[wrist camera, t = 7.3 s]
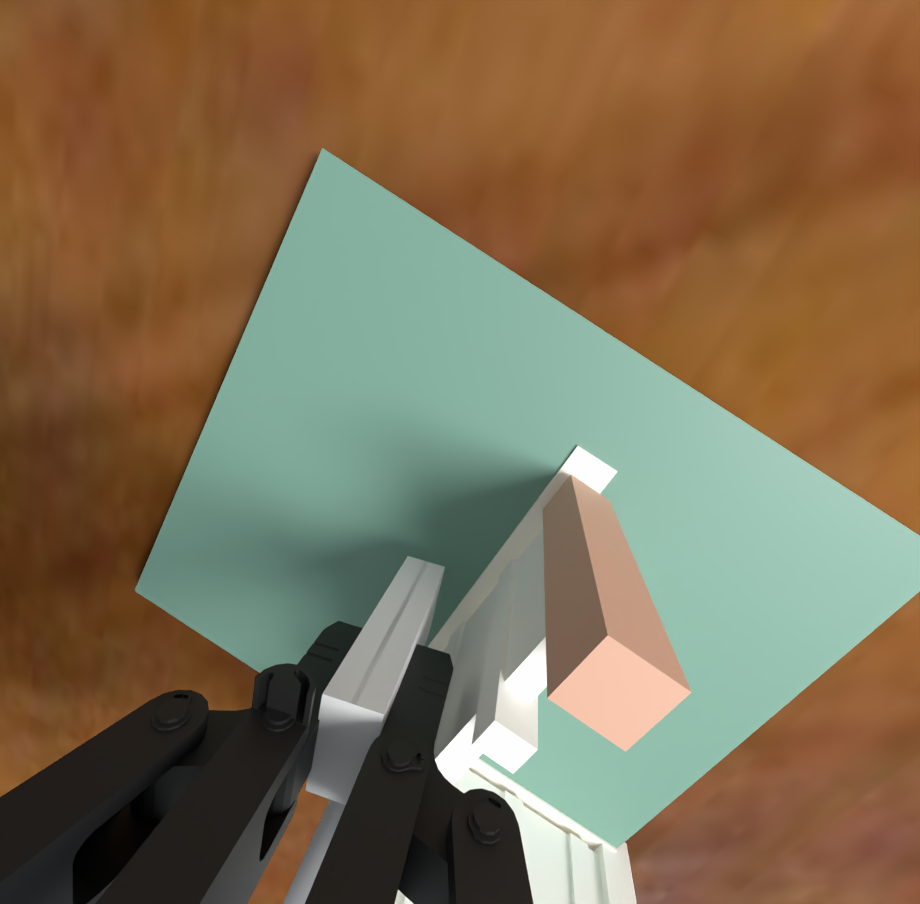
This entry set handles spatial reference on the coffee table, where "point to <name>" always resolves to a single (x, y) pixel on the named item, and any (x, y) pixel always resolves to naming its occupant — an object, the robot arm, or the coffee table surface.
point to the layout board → (505, 493)
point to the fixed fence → (545, 848)
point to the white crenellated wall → (559, 643)
